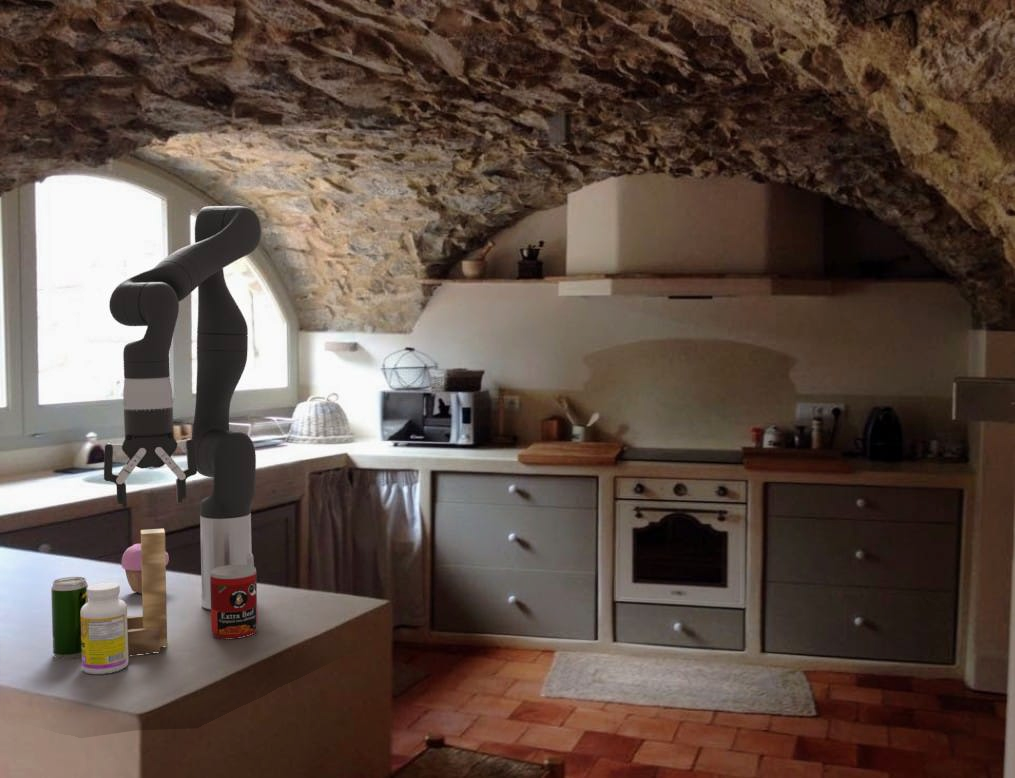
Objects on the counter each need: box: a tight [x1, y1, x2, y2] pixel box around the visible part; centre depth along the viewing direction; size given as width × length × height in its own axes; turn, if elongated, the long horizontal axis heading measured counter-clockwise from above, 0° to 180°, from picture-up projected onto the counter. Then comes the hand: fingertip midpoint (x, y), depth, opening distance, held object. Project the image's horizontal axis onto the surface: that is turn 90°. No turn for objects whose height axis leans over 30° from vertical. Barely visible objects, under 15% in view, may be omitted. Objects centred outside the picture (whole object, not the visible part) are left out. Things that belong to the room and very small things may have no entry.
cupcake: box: [121, 542, 170, 595], centre depth 198 cm, size 9×9×10 cm
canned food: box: [210, 565, 258, 640], centre depth 171 cm, size 8×8×11 cm
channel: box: [127, 614, 161, 657], centre depth 163 cm, size 10×9×4 cm
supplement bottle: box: [80, 582, 129, 675], centre depth 153 cm, size 7×7×13 cm
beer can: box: [50, 576, 89, 660], centre depth 160 cm, size 5×5×12 cm
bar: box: [140, 528, 168, 648], centre depth 164 cm, size 4×4×19 cm
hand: (152, 504), depth 163 cm, fingers open, 8 cm apart
